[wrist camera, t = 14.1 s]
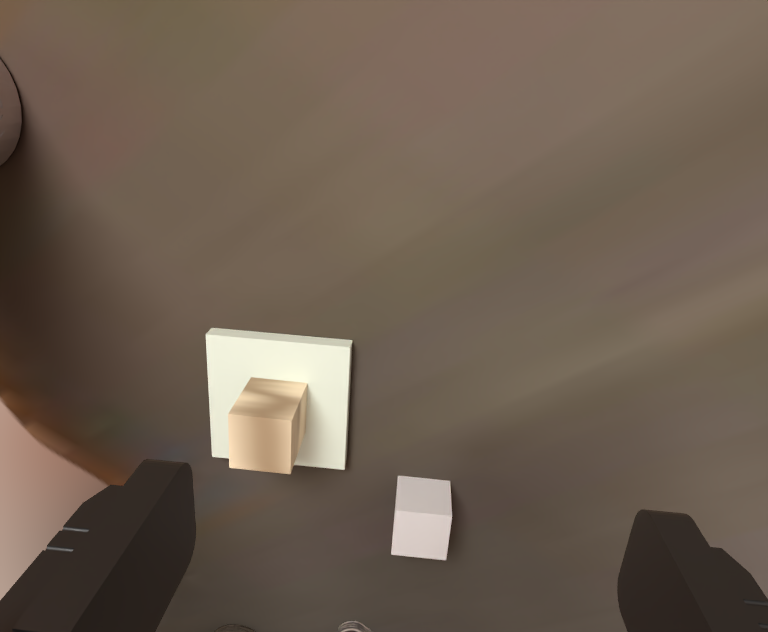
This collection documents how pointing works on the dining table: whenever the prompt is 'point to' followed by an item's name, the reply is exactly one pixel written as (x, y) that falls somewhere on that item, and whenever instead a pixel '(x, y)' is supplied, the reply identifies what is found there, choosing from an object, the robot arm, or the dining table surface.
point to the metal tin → (234, 628)
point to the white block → (422, 518)
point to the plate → (289, 363)
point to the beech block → (267, 425)
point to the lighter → (353, 627)
